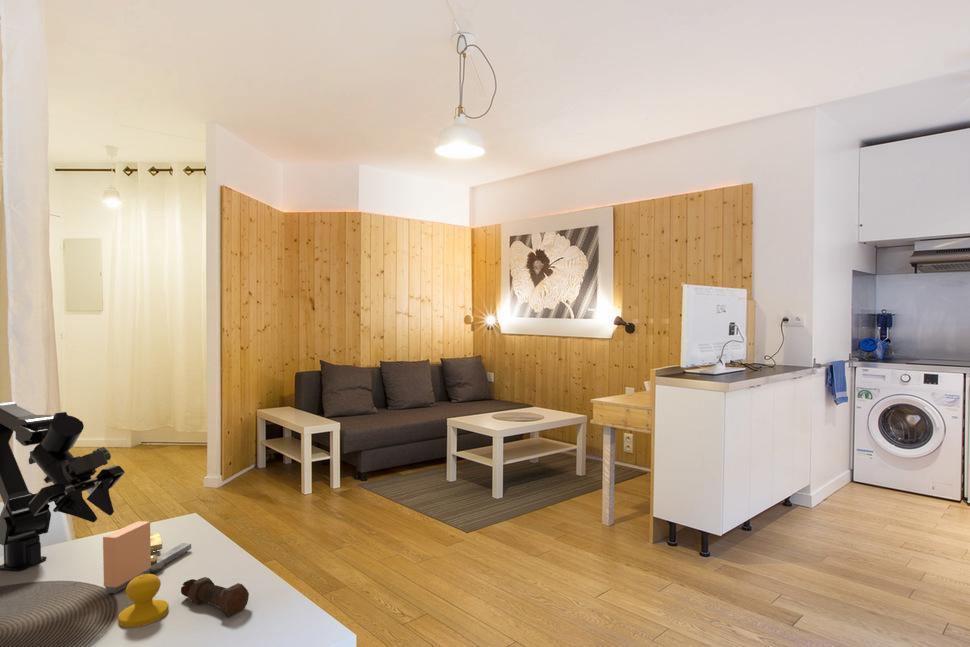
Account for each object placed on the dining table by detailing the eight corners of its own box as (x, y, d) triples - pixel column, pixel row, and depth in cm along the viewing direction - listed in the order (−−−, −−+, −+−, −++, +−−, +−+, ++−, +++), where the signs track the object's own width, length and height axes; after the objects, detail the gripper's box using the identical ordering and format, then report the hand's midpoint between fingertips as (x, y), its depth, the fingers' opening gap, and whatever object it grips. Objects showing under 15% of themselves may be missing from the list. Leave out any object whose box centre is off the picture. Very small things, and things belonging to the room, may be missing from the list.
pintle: (144, 564, 122) (144, 558, 122) (151, 560, 124) (151, 554, 124) (152, 564, 121) (152, 559, 121) (159, 560, 123) (159, 555, 123)
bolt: (191, 604, 111) (241, 619, 104) (170, 601, 107) (220, 617, 100) (203, 573, 114) (253, 586, 107) (183, 569, 110) (232, 582, 103)
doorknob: (175, 603, 108) (157, 625, 100) (131, 607, 107) (109, 629, 99) (174, 565, 108) (156, 584, 100) (130, 568, 107) (108, 588, 99)
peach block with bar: (101, 592, 112) (99, 536, 112) (178, 547, 134) (177, 501, 134) (119, 593, 111) (118, 537, 111) (195, 548, 133) (194, 502, 133)
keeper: (162, 559, 128) (162, 543, 128) (137, 564, 126) (136, 549, 126) (159, 547, 136) (158, 532, 136) (134, 552, 133) (134, 537, 133)
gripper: (39, 448, 110) (88, 506, 108) (116, 430, 128) (159, 479, 126) (6, 486, 111) (54, 544, 109) (88, 463, 129) (130, 512, 128)
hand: (104, 517), depth 118 cm, fingers open, 4 cm apart
